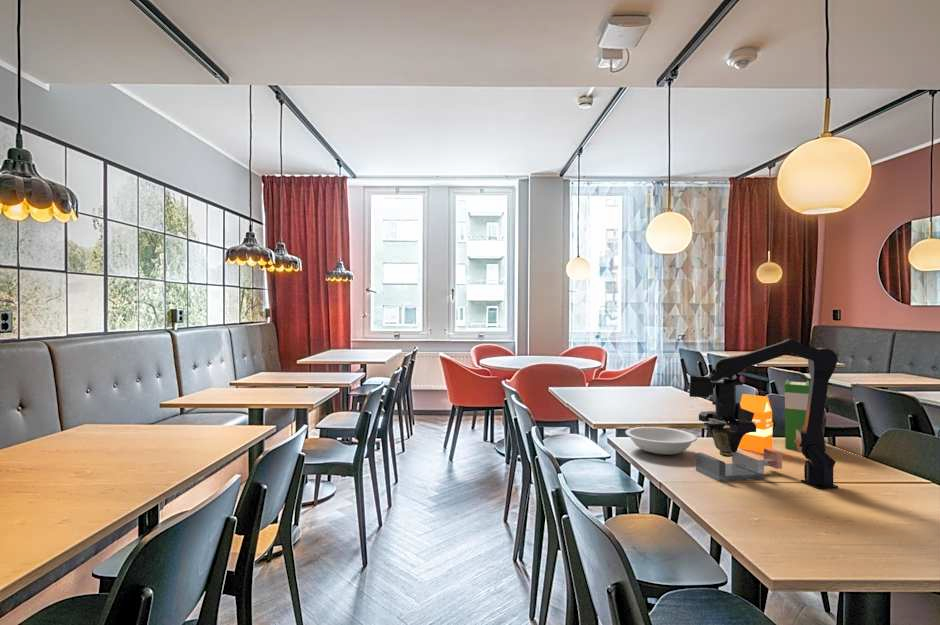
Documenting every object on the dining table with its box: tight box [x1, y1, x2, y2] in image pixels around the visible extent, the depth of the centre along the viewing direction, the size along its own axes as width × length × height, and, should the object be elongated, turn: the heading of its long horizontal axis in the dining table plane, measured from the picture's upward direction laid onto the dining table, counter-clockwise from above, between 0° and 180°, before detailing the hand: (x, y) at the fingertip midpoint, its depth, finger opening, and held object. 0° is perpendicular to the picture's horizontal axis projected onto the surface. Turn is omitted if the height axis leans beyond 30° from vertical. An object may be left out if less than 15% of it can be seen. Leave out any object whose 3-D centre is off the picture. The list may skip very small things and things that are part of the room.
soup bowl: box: [624, 426, 698, 455], centre depth 173 cm, size 24×24×7 cm
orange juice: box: [738, 393, 773, 454], centre depth 177 cm, size 8×9×20 cm
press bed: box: [695, 452, 765, 482], centre depth 148 cm, size 11×15×6 cm
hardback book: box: [784, 379, 810, 451], centre depth 183 cm, size 18×7×24 cm, turn 145°
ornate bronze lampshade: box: [712, 427, 733, 458], centre depth 148 cm, size 8×7×8 cm
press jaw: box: [731, 448, 783, 474], centre depth 150 cm, size 11×11×5 cm
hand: (726, 449), depth 148 cm, fingers closed on ornate bronze lampshade, 6 cm apart
